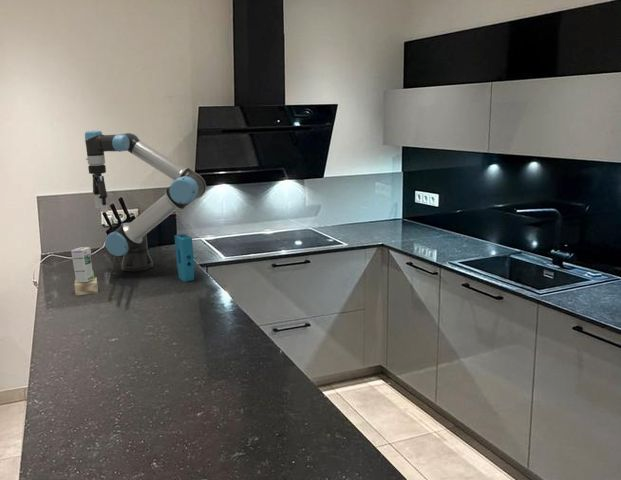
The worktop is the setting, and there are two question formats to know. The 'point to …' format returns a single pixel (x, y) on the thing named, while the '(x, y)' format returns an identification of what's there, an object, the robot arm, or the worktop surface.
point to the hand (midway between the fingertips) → (101, 210)
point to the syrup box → (83, 264)
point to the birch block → (86, 287)
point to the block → (184, 257)
